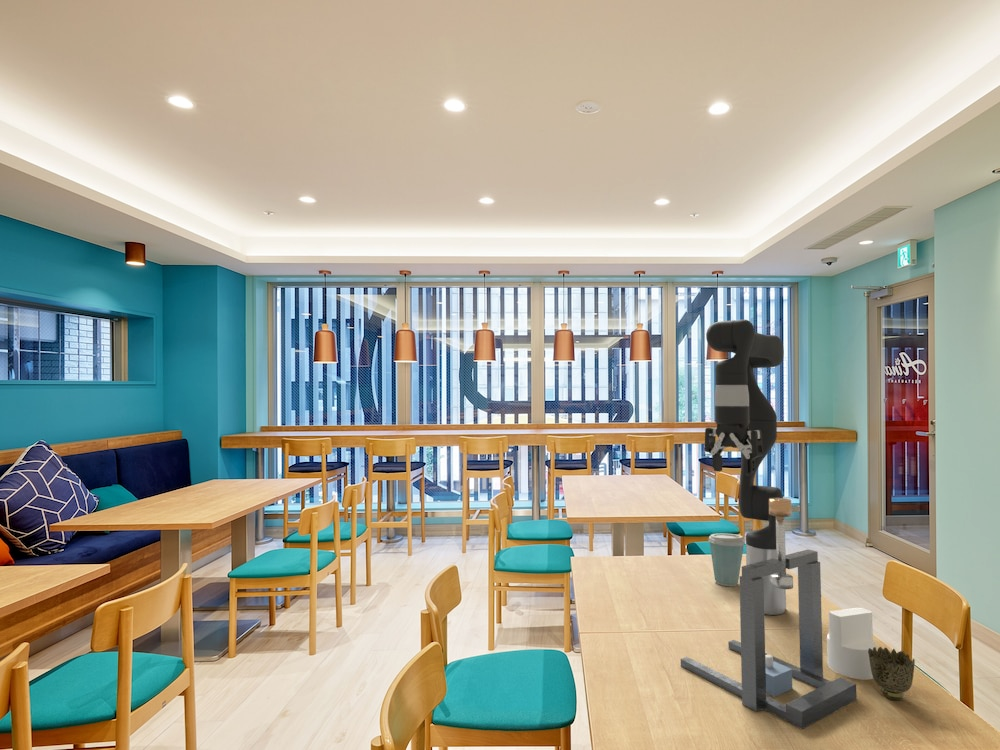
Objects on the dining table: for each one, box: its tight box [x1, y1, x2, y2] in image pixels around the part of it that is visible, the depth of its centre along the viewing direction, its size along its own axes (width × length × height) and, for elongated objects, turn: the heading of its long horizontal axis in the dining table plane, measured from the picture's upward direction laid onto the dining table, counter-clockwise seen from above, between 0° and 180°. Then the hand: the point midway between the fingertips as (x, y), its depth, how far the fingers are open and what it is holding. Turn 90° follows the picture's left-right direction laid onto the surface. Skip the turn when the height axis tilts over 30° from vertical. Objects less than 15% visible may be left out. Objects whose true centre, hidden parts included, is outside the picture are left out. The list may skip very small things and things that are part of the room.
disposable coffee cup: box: [708, 533, 746, 587], centre depth 175 cm, size 11×11×15 cm
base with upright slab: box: [826, 606, 877, 681], centre depth 120 cm, size 9×9×12 cm
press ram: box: [769, 497, 794, 590], centre depth 112 cm, size 4×4×17 cm
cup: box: [868, 646, 915, 701], centre depth 109 cm, size 8×7×8 cm
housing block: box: [765, 654, 793, 698], centre depth 114 cm, size 6×6×6 cm
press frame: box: [680, 549, 858, 730], centre depth 115 cm, size 22×27×26 cm
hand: (733, 473), depth 133 cm, fingers open, 8 cm apart
